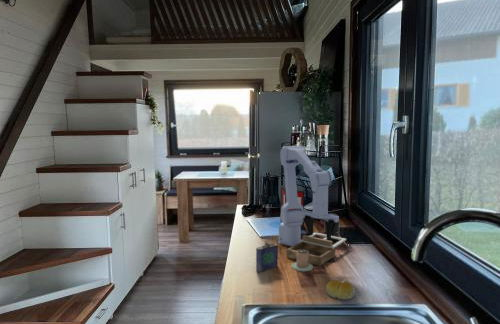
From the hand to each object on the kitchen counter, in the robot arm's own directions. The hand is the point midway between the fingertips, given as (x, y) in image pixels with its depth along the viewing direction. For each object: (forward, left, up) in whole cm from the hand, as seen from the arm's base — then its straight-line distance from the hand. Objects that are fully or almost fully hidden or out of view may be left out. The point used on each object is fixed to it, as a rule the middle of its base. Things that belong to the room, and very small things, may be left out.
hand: (319, 237), depth 139 cm
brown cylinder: (-3, -8, -10) cm, 13 cm away
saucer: (-3, -8, -10) cm, 13 cm away
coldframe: (-5, +3, -10) cm, 12 cm away
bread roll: (+17, -18, -11) cm, 27 cm away
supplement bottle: (-8, +28, -11) cm, 31 cm away
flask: (-13, -17, -11) cm, 24 cm away
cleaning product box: (-35, +37, -11) cm, 52 cm away
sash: (-6, +15, -7) cm, 17 cm away
